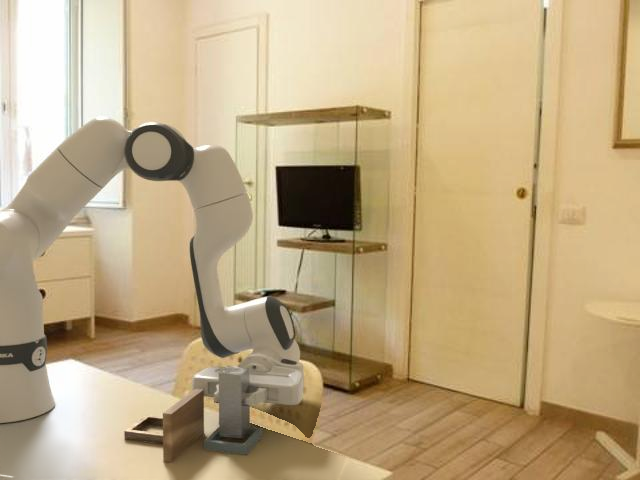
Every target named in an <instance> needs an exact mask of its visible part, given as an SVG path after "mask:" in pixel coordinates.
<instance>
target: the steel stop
mask: <svg viewBox="0 0 640 480" xmlns="http://www.w3.org/2000/svg"><path fill="white" fill-rule="evenodd" d="M225 367H226V368H225V369H223V370H222V371H221V372H219V403H218V419H219V420H218V427H219V436H222V437H224V438H232V439H243V438H244V435H245V434H246V433H247V432H248V431H249V430H250V427H251V426H250V425H251V423H250V420H251V415H250V414H251V412H250V411H251V410H250V408H251V407H249V406H244V396H245V395H246V394H247V393H250V372H249V368H244V367H238V366H233V365H232V366H231V365H227V366H225Z"/></svg>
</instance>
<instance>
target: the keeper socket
mask: <svg viewBox="0 0 640 480" xmlns="http://www.w3.org/2000/svg"><path fill="white" fill-rule="evenodd" d="M222 437H223V436H219V426H218V427H217V428H215V430H214V431H213V432H212V433H211V434H210V435H209V436H208V437H206V438H205V440H203V450H204V451H212V452H219V453H220V452H221V453H226V454H233V455H234V454H235V455H241V456H247V455H248V454H249V453H250V452H251V451H252V450H253V448H254V447H256V444H258V442H259V441H260V440H261V439H262V438H263V428H261V427H253V426H250V430H249V431H248V432H247V433H246V434H245V435H244V436H243V438H245V437H246V438H247V439H246V441H245V442H244V443H239V442H234V441H233V442H232V441H231V442H230V441H225V440H224V441H223V440H220V439H222Z"/></svg>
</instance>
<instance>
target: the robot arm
mask: <svg viewBox="0 0 640 480" xmlns="http://www.w3.org/2000/svg"><path fill="white" fill-rule="evenodd" d="M128 169H130V170H131V171H132V172H133V173H134V174H135V175H137V176H138V177H140V178H141V179H144V180H147V181H152V182H166V181H167V182H169V181H171V182H172V181H173V182H176V181H177V182H179V183H180V184H181V185H182V187H184V189H185V191H186V193H187V195H188V197H189V200H190V204H191V206H192V209H193V212H194V216H195V233H194V235H193V236H192V237H191V239H190V241H189V256H190V265H191V271H192V277H193V283H194V288H195V294H196V299H197V305H198V311H199V318H200V320H199V322H200V335H201V341H202V344H203V347H205V348H206V349H207V351H208V352H210V353H211V354H213V355H214V356H217V357H219V358H222V359H224V358H228V357H232V356H234V355H236V354H239V353H242V352H246V351H249V350H250V351H251V350H252V352H251V353H250V354H248V355H247V356H246V357H244V358H243V359H242V360H241V361H240V362H239V363H238V365H237V367H244V368H249V372H250V393H247V394H246V395H245V396H244V406H249V407H250V408H251V407H254V406H255V405H258V404H261V403H264V404H266V403H267V404H276V405H284V406H285V405H286V406H296V405H299V404H300V403H301V402H302V399H303V396H304V394H303V393H304V386H305V374H304V365H303V363H302V362H300V358H301V349H300V347H299V345H298V343H297V341H296V340H295V337H296V330H295V324H294V323H295V322H294V320H293V317H292V313H291V312H290V310H289V307H287V306H286V305H285V303H283V302H282V301H281V300H280V299H278V298H277V297H275V296H272V295H268V296H263V297H259V298H255V299H252V300H251V299H250V300H249V301H245V302H242V303H238V304H235V305H231V306H227V305H225V304H224V302H223V298H222V293H221V286H220V280H219V279H220V278H219V275H218V264H219V261H220V259H221V258H222V256H223V255H224V254H225V253H226V252H228V251H229V250H230V249H231V248H233V246H235V245H236V244H237V243H239V242H240V241H241V240H242V239H243V238H244V237H245V236H246V235H247V233H248V231H249V230H250V228H251V226H252V222H253V217H254V215H253V208H252V204H251V201H250V197H249V194H248V191H247V189H246V186H245V182H244V181H243V178H242V176H241V174H240V172H239V170H238V167H237V166H236V164H235V161H234V160H233V157H232V156H231V154H230V153H229V152H228V150H227V149H225V148H224V147H222V146H220V145H217V144H216V145H215V144H206V145H202V146H198V147H194V146H192V145H191V144H190V143H189V142H188V141H187V140H186V138H185V136H184V135H183V134H182V133H181V132H180V131H179V130H177V129H176V128H175V127H173V126H171V125H169V124H165V123H161V122H154V121H153V122H145V123H142V124H140V125H138V126H137V127H135V128H134V129H133V130H129V129H127V128H126V127H124V125H122V124H121V123H120V122H119V121H117V120H115V119H113V118H111V117H107V116H97V117H94V118H92V119H90V120H89V121H88V122H86V123H85V124H83V125H82V126H81V127H79V128H78V129H77V130H75V131H74V132H73V133H71V134H70V135H69V136H68V137H67V138H65V139H64V140H63V141H62V142H61V143H60V144H59V145H58V146H57V147H55V149H54V150H53V151H52V152H51V153H50V154H49V155H48V156H47V157H46V158H45V159H44V160H43V161H42V162H41V163H39V165H38V166H37V167H36V168H35V169H34V170H33V171H32V172H31V173H30V174H29V175H28V176H27V178H26V181H25V183H24V185H23V186H22V187H21V189H20V190H19V192H17V194H16V196H15V197H14V198H13V200H12V201H10V203H9V204H8V205H7V206H5V208H2V209H1V210H0V424H4V423H13V422H14V423H15V422H19V421H24V420H28V419H33V418H34V417H38V416H41V415H43V414H45V413H48V412H49V411H50V410H52V409H53V408H54V407H55V405H56V401H55V398H54V395H53V392H52V389H51V383H50V379H49V374H48V368H47V355H48V345H47V344H48V342H47V341H48V340H47V335H46V334H45V332H44V331H45V328H44V327H45V326H44V304H43V303H44V299H43V295H42V293H41V292H40V290H39V287H38V284H37V280H36V274H35V272H34V265H33V264H34V263H33V262H34V261H36V260H38V259H39V258H40V257H42V255H44V253H45V252H46V251H47V250H48V249H49V248H50V247H51V246H52V245H53V244H54V242H55V241H56V240H57V239H58V238H59V237H60V235H61V234H63V232H64V230H65V229H66V228H67V227H68V225H69V224H70V223H72V221H73V220H74V218H75V217H76V216H77V215H78V214H79V213H80V212H81V211H82V210H83V209H84V208H85V207H86V206H87V205H88V204H89V203H90V202H91V201H93V199H94V198H95V196H97V195H98V194H99V193H100V192H101V191H102V190H103V188H105V187H106V185H108V184H109V183H110V182H111V181H112V180H113V179H114V178H115V177H116V176H117V175H118V174H120V173H121V172H122V171H125V170H128ZM226 367H227V366H210V367H207V368H205V369H203V370H200V371H199V372H197V373H195V374H194V375H193V376H192V384H191V385H192V386H191V387H192V388H191V389H192V391H193V390H195V389H204V397H208V398H213V403H214V404H219V372H221V371H222V370H223V369H225V368H226Z"/></svg>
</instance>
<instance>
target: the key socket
mask: <svg viewBox="0 0 640 480" xmlns="http://www.w3.org/2000/svg"><path fill="white" fill-rule="evenodd" d="M148 426H155V427H162V428H163V416H161V415H160V416H159V415H151V414H150V415H149V414H146V415H145V416H144V417H142V418H140V419H139V420H138V421H136V422H135V423H134V424H132V425H131V426H129V427H128V428H126V429H124V435H123V436H124V440H128V441H135V442H143V443H148V444H149V443H150V444H157V445H158V444H159V445H163V432H162V433H160V432H153V431H145V430H144V429H145V428H146V427H148Z"/></svg>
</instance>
